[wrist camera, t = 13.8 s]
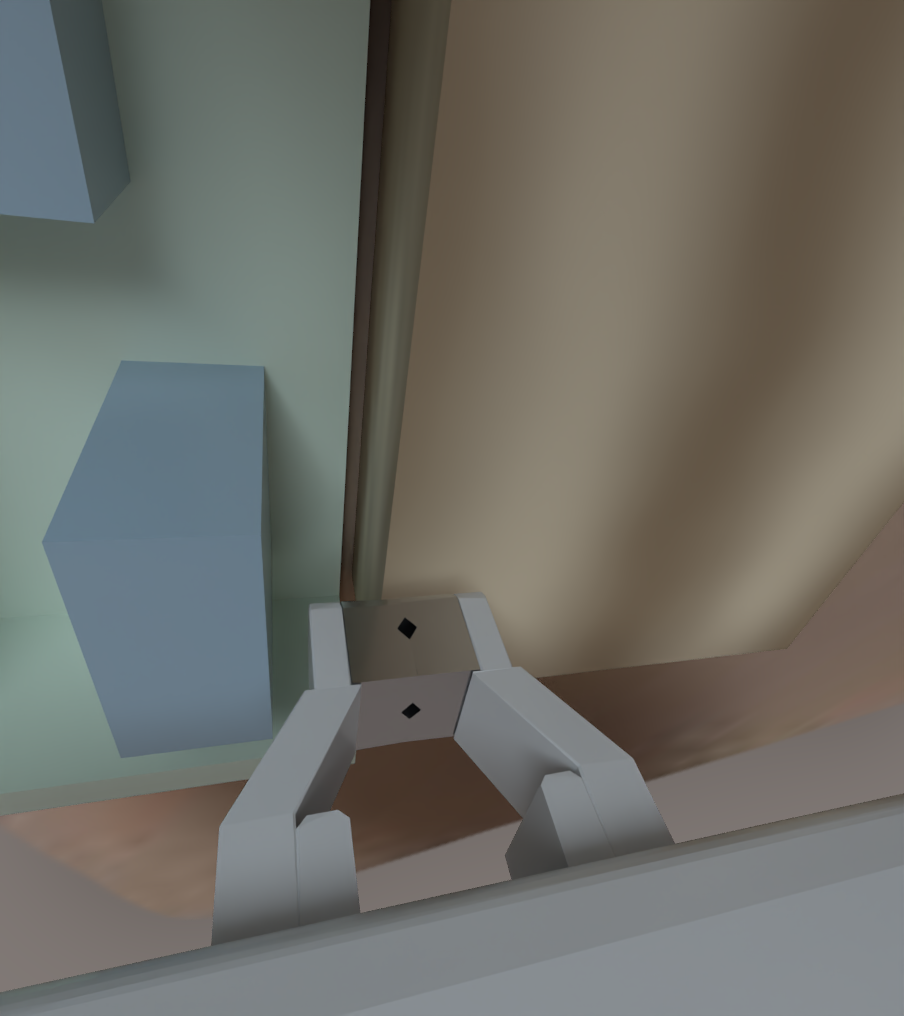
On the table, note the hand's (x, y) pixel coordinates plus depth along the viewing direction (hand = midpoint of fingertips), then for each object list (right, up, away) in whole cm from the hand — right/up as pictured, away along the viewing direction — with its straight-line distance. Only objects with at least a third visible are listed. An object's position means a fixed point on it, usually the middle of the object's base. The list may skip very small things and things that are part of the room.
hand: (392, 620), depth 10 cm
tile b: (-2, +1, +1) cm, 3 cm away
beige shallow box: (+5, +7, +3) cm, 9 cm away
